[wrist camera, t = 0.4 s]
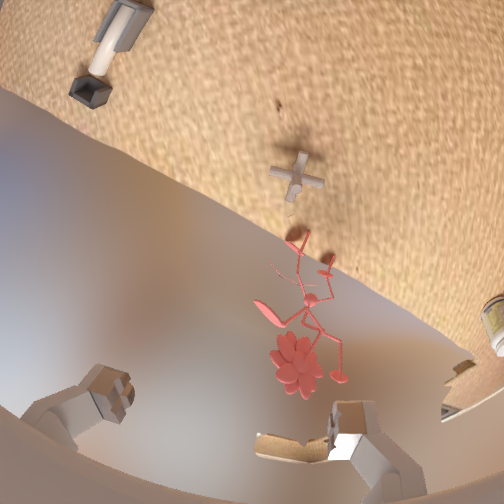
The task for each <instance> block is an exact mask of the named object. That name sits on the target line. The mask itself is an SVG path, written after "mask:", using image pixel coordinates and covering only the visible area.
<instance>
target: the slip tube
mask: <svg viewBox="0 0 504 504" xmlns="http://www.w3.org/2000/svg"><path fill="white" fill-rule="evenodd" d="M136 10H137V9H134V8H132V7H130V6H127V5H125V4H122V5H121V7H120V8H119V10H118V12H117V13H116V15H115V17H114V19H113V20H112V22H111V24H110V26H109V28H108V29H107V31H106V33H105V35H104V37H103V39H102V41H101V43H100V45H99V47H98V49H97V51H96V53H95V55H94V58H93V60H92V62H91V64H90V66H89V69H88V71H89V72H90V73H92V74H95V75H100V76H103V75H105V74H106V72H107V70H108V68H109V66H110V64H111V62H112V60H113V58H114V56H115V54H116V52H114V51H113V50H114V48H115V46H116V44H117V42H118V41H119V39H120V37H121V35H122V33H123V32H124V30H125V28H126V26H127V25H128V23H129V21H130V20H131V18H132V16H133V15H134V13H135V11H136Z"/></svg>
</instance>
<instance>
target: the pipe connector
mask: <svg viewBox="0 0 504 504" xmlns="http://www.w3.org/2000/svg"><path fill="white" fill-rule="evenodd" d="M308 155H309V153H307V152H305V151H302V150H301V151H299V153H298V156H297V160H296V163H294V164H293V165H292V171H291V170H287V169H283V168H279V167H275V166H271V168H270V172H269V175H270V176H274V177H279V178H283V179H286V180H290V184H289V187H288V191H287V194H286V198H285V200H286V201H288V202H291V203H293V202H294V201H295V198H296V195H297V194H299V193H300V192H301V191H302V184H306V185H309V186H313V187H317V188H320V189H322V188H323V185H324V179H320V178H317V177H313V176H310V175H306V174H303V172H304V169H305V165H306V162H307V159H308Z"/></svg>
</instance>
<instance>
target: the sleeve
mask: <svg viewBox="0 0 504 504" xmlns="http://www.w3.org/2000/svg"><path fill="white" fill-rule="evenodd" d="M122 4H125V5H127V6H130V7H132V8H134V9H137V10H136V11H135V13H134V15H133V16H132V18H131V20H130V21H129V23H128V25H127V26H126V28H125V30H124V32H123V33H122V35H121V37H120V39H119V41H118V42H117V44H116V46H115V48H114V50H113V51H114V52H116V53H118V52H126V51H130V49H131V48H132V46H133V44H134V42H135V41H136V39H137V37H138V35H139V34H140V32H141V30H142V29H143V27H144V25H145V24H146V22H147V21H148V19H149V18H150V16H151V14H152V13H153V11H154V9H152V8H150V7H148V6H145V5H143V4H141V3H139V2H136V1H134V0H115V1H114V3H113V4H112V6H111V8H110V10H109V11H108V13H107V15H106V17H105V19H104V20H103V22H102V24H101V26H100V28H99V30H98V32H97V34H96V36H95V38H94V40H93V41H94V42H101V41H102V39H103V37H104V35H105V33H106V31H107V29H108V28H109V26H110V24H111V22H112V20H113V19H114V17H115V15H116V13H117V12H118V10H119V8H120V7H121V5H122Z"/></svg>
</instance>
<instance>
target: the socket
mask: <svg viewBox="0 0 504 504" xmlns="http://www.w3.org/2000/svg"><path fill="white" fill-rule="evenodd" d="M112 89H113V88H111V87H109V86H108V85H106V84H104V83H102V82H101V81H99V80H97V79H95V78H94V77H92V76H90V75H85V76H82V77H78V78H75V79H74V81H73V84H72V86H71V89H70V92H69V96H71V97H73V98H74V99H76V100H78V101H79V102H81V103H83V104H84V105H86V106H87V107H89V108H91V109H92V110H93V109H95V108H97V107H100V106H102V105H104V104H106V102H107V100H108V98H109V95H110V93H111V91H112Z"/></svg>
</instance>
